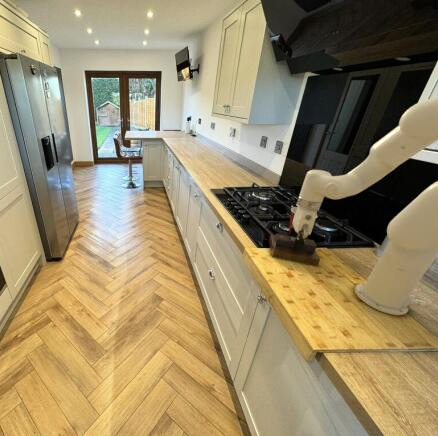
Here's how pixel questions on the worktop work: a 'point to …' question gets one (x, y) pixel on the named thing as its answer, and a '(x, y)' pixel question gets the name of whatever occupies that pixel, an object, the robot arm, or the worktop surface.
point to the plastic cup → (293, 217)
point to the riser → (293, 253)
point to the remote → (289, 241)
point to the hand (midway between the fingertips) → (294, 242)
